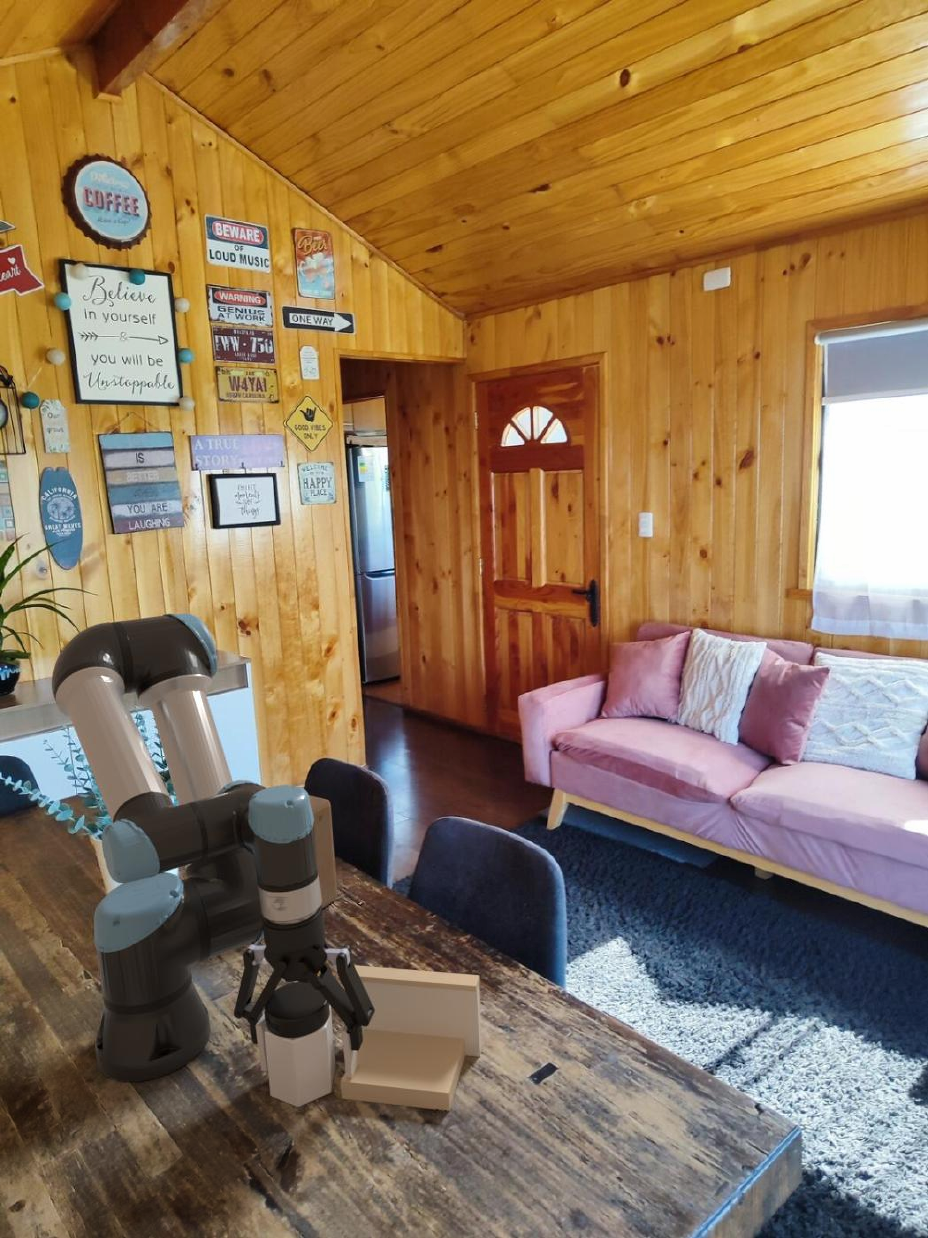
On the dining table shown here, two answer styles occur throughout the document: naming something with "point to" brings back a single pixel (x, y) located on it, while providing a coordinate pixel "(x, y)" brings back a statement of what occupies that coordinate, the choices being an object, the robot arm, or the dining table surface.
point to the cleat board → (415, 1037)
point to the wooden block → (324, 849)
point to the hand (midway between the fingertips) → (310, 1067)
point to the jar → (299, 1044)
